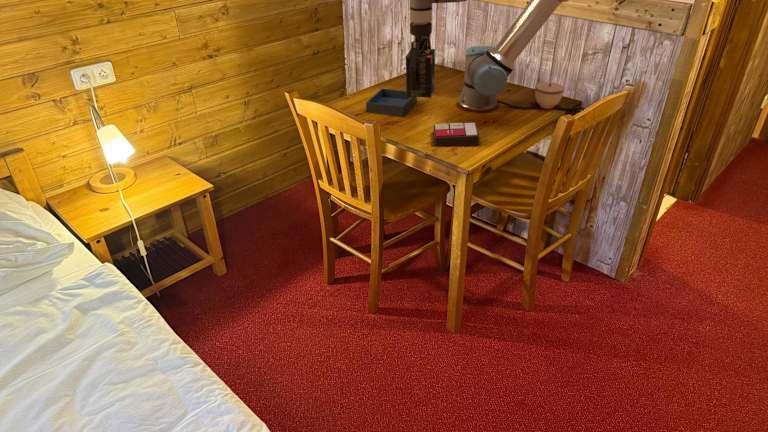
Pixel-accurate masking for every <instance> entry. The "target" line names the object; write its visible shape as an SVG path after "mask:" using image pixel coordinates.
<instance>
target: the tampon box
mask: <svg viewBox="0 0 768 432" xmlns="http://www.w3.org/2000/svg"><path fill="white" fill-rule="evenodd" d="M410 55H411V48H410V49H409V51H408V53H406V56H405V81H406V82H405V83H406V84H405V89H406V90H405V91H406V93H407V97H417V98H429V99H430V98H432V96H433V94H434V92H435V88H436V87H435V72H436V71H435V69H436V67H435V66H436V49H435V48H431V49H428V50H423V53H422V54H421V56H420V57H418V59H419V69H418V71H419V90H412V89H411V72H409V64H410Z"/></svg>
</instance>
